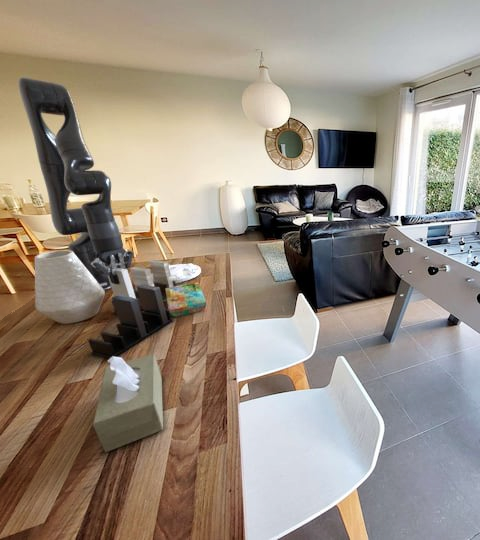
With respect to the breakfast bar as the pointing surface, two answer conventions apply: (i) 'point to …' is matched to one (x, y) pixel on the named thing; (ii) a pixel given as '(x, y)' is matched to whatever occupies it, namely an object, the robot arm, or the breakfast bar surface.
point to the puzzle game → (185, 299)
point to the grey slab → (160, 279)
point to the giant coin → (183, 272)
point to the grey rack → (133, 322)
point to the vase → (65, 288)
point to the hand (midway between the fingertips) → (120, 282)
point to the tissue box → (129, 402)
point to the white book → (122, 284)
